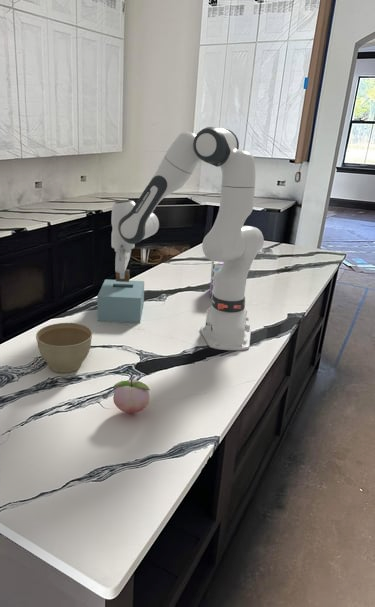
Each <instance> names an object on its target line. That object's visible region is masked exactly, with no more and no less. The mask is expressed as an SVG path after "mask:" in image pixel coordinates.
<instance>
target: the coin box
mask: <svg viewBox="0 0 375 607" xmlns="http://www.w3.org/2000/svg"><path fill="white" fill-rule="evenodd" d="M96 299H97V302H96V303H97V304H96V305H97V322H110V323H111V322H112V323H133V324H134V323H136V324H137V323H138V324H141V320H142V315H143V309H144V305H145V281H144V280H129V282H119V281H116V279H104V282H103V283H102V285H101V288H100V290H99V292H98V294H97V298H96Z"/></svg>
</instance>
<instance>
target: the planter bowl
mask: <svg viewBox="0 0 375 607" xmlns="http://www.w3.org/2000/svg"><path fill="white" fill-rule="evenodd" d="M35 338H36V339H35V340H36V341H37V342H36V343H37V348H38V351H39V355H40V356H41V357H42V359H43V360H44V361H45V363H46V364H48V366H49V368H50V369H49V370H51V371H53V372H56V373H62V374H63V373H64V374H65V373H66V374H67V373H72V372H75V371H77V370H79V369H81V367H82V364H83V362H84V361H85V359H86V358H87V356H88V354H89V352H90V351H91V347H92V346H91V345H92V338H93V331H92V329H90V328H89V326H86V325H84V324H81V323H75V322H58V323H53V324H49V325H46V326H44V327H41V328H40V329H39V330H38V331H37V332H36V334H35Z"/></svg>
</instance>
